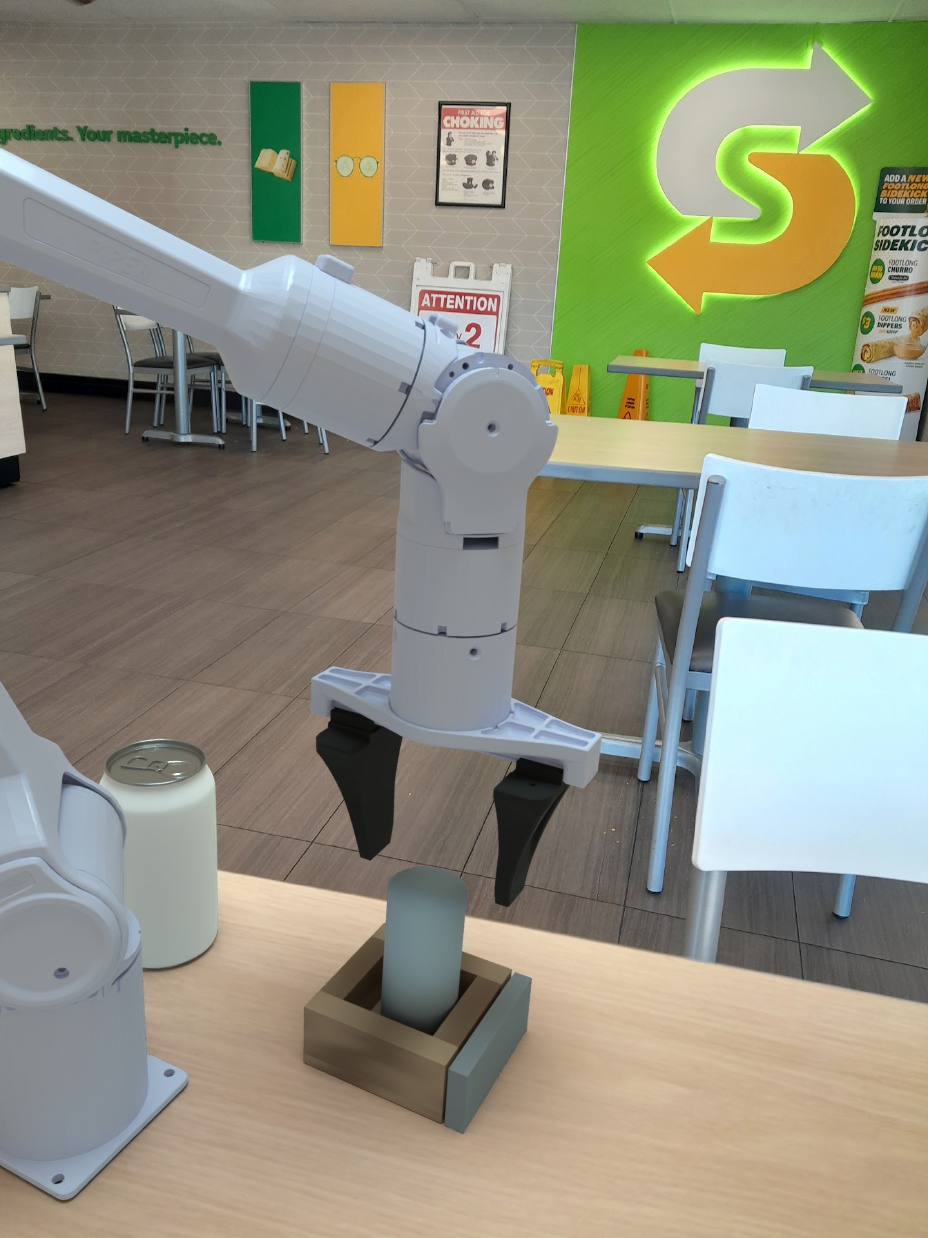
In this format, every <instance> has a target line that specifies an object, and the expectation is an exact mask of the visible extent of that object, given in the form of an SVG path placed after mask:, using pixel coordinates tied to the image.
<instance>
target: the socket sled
mask: <svg viewBox="0 0 928 1238" xmlns="http://www.w3.org/2000/svg"><path fill="white" fill-rule="evenodd" d="M385 925H386V922H383V923H382V924H381V925H380V926H379V928H377V929H376V930H375V931H374V933H373V934H371V936H370V937H369V938H368V939H367V940H366V941H365V942H364V943H363V944H362V945H361V946H360V947H359V948H358V949H357V950H356V951H355V953H354V954H352V956H351V957H349V959H348V960H347V961H346V962H345V963H344V964H343V965H342V966H341V967H340V968H339V969H338V970H337V971H336V972H335V973H334V975H333V976H331V978H330V979H329V980H328V981H327V982H326V983H325V984H324V985H323V986H322V987H321V988H320V989H319V990H318V991H317V992H316V993H315V994H314V995H313V997H312V998H311V999H310V1000H309V1001H308V1002H307V1003H306V1004H305V1005H304V1006H303V1056H302V1057H303V1058H302V1061H303V1063H304V1064H306V1065H309V1066H311V1067H313V1068H315V1069H318V1070H319V1071H323V1072H325V1073H326V1074H328V1075H331V1076H334V1077H336V1078H337V1079H340V1080H342V1081H345V1082H347V1083H348V1084H351V1085H353V1086H355V1087H358V1088H360V1089H363V1090H364V1091H366V1092H370V1093H372V1094H374V1095H375V1096H378V1097H380V1098H382V1099H385V1100H387V1101H390V1102H392V1103H395V1104H396V1105H398V1106H401V1107H403V1108H405V1109H408V1110H410V1111H412V1112H414V1113H417V1114H418V1115H421V1116H423V1117H425V1118H428V1119H430V1120H432V1121H434V1122H437V1123H439V1124H442V1123H443V1122H444V1121H445V1111H446V1097H447V1083H448V1069H449V1068H450V1066H451V1065H452V1063H453V1062H454V1060H455V1059H456V1057H457V1056H458V1054H459V1053H460V1052H461V1050H462V1049H463V1047H464V1046H465V1044H466V1043H467V1041H468V1040H469V1038H470V1037H471V1035H472V1034H473V1033H474V1031H475V1030H476V1028H477V1027H478V1025H479V1024H480V1022H481V1021H482V1019H483V1018H484V1016H485V1015H486V1014H487V1012H488V1011H489V1009H490V1008H491V1006H492V1005H493V1003H494V1002H495V1000H496V999H497V997H498V996H499V995H500V993H501V992H502V990H503V989H504V987H505V986H506V984H507V983H508V981H509V980H510V978H511V977H512V976H513V969H512V968H509V967H507V966H504V965H501V964H499V963H495V962H493V961H490V960H488V959H486V958H485V959H484V958H482V957H480V956H477V955H474V954H471V953H468V952H466V951H463V950H462V957H461V969H460V980H459V991H458V1002H457V1004H456V1006H455V1007H454V1008H453V1010H452V1011H451V1012H450V1014H449V1015H448V1017H447V1018H446V1019H445V1021H444V1022H443V1023H442V1025H441V1026H440V1027H439V1029H438V1030H437V1031H436V1033H435V1034H434V1036H430V1035H428V1034H425V1033H423V1032H420V1031H418V1030H415V1029H413V1028H411V1027H408V1026H406V1025H403V1024H401V1023H398V1022H396V1021H393V1020H391V1019H389V1018H386V1017H384V1016H381V1015H380V1011H381V994H382V977H383V960H384V943H385Z"/></svg>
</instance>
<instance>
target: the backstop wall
mask: <svg viewBox="0 0 928 1238" xmlns="http://www.w3.org/2000/svg"><path fill="white" fill-rule="evenodd" d="M532 982H533V978H532V977H530V976H527V975H524V974H522V973H519V972H515V971H514V973H512V975H511V978H510V980H509V981H508V983H507V984H506V986H505V987H504V989H503V990H502V992H501V993H500V995H499V996H498V997H497V999H496V1000H495V1002H494V1003H493V1005H492V1006H491V1008H490V1009H489V1011H488V1012H487V1014H486V1015H485V1016H484V1018H483V1019H482V1021H481V1022H480V1024H479V1025H478V1027H477V1028H476V1030H475V1031H474V1033H473V1034H472V1035H471V1037H470V1038H469V1040H468V1041H467V1043H466V1044H465V1046H464V1047H463V1049H462V1050H461V1052H460V1053H459V1054H458V1056H457V1057H456V1059H455V1060H454V1062H453V1063H452V1065H451V1066H450V1068H449V1069H448V1083H447V1097H446V1111H445V1119H444V1124H443V1125H444V1127H446V1128H449V1129H451V1130H453V1131H455V1132H457V1133H459V1134H462V1135H464V1133H465V1132H466V1130H467V1128H468V1127H469V1126H470V1123H471V1122H472V1120H473V1118H474V1117H475V1116H476V1114H477V1112H479V1109H480V1107H481V1106H482V1104H483V1102H484V1101H485V1099H486V1097H487V1096H488V1094H489V1093H490V1091H491V1089H492V1088H493V1087H494V1084H495V1082H496V1081H497V1080H498V1078H499V1077H500V1074H501V1073H502V1071H503V1070H504V1068H505V1066H506V1065H507V1064H508V1061H509V1060H510V1059H511V1057H512V1055H513V1054H514V1052H515V1051H516V1048H517V1047H518V1045H519V1044H520V1042H521V1040H522V1038H523V1037H524V1035H526V1034H525V1033H526V1032H527V1030H528V1023H529V1022H528V1021H529V1012H530V1002H531V991H532V984H533V983H532Z"/></svg>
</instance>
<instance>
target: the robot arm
mask: <svg viewBox="0 0 928 1238" xmlns="http://www.w3.org/2000/svg"><path fill="white" fill-rule="evenodd" d="M0 262H5V263H7V264H10V265H13V266H16V267H17V268H20V269H23V270H24V271H26V272H27V271H28V272H31V273H33V274H36V275H38V276H40V277H42V278H44V279H45V278H46V279H48V280H50V281H52V282H56V283H58V284H60V285H62V286H65V287H68V288H70V289H72V290H75V291H77V292H80V293H83V294H85V295H87V296H89V297H92V298H95V299H97V300H100V301H102V302H105V303H107V304H109V305H112V306H114V307H117V308H120V309H121V310H122V309H123V310H125V311H127V312H130V313H132V314H134V315H137V316H139V317H142V318H144V319H147V320H149V321H151V322H155V323H158V324H159V325H162V326H165V327H167V328H170V329H173V330H174V331H176V332H180V333H182V334H185V335H187V336H189V337H192V338H195V339H197V340H200V341H202V342H204V343H207V344H209V345H211V346H214V347H215V349H216V351H217V352H218V353H219V357H220V358H221V360H222V363H223V365H224V368H225V371H226V372H227V375H228V378H229V380H230V382H231V385H232V387H233V388H234V390H235V391H236V392H237V393H238V394H239V395H241V396H244V397H245V398H248V399H251V400H252V401H255V402H259V403H261V404H264V405H265V406H268V407H271V408H273V409H275V410H278V411H280V412H283V413H285V414H287V415H289V416H292V417H294V418H295V419H296V418H297V419H299V420H301V421H304V422H306V423H309V424H311V425H313V426H315V427H318V428H321V429H323V430H326V431H328V432H330V433H332V434H335V435H338V436H340V437H343V438H345V439H347V440H349V441H351V442H353V443H357V444H359V445H360V446H364V447H366V448H369V449H370V450H373V451H375V452H380V453H381V452H390V451H396V453H398V455H400V457H401V458H403V459H401V461H400V484H399V485H400V490H399V510H398V515H397V518H396V537H395V539H396V541H395V542H396V543H395V560H394V561H395V563H394V564H395V565H394V567H395V568H394V589H393V616H392V640H391V641H392V642H391V643H392V645H391V646H392V647H391V668H390V673H389V674H388V673H380V672H379V673H378V672H370V671H369V672H367V671H359V670H353V669H348V668H343V667H338V666H335V665H334V666H331V667H329V668H327V669H325V670H324V671H322V672H320V673H318V674H317V675H315V676H313V677H311V679H310V683H311V684H310V689H311V690H310V713H311V714H313V715H317V716H320V717H325V718H329V719H330V720H329V721H328V722H327V727H326V728H325V729H323V730H322V731H319V733H318V734H317V735H316V736H315V751H316V753H317V754H318V756H319V757H320V758H321V761H323V763H324V764H325V766H326V767H327V768H328V771H329V772H330V774H331V775H332V778H333V780H334V781H335V783H336V785H337V787H338V789H339V791H340V793H341V797H342V798H343V801H344V804H345V806H346V809H347V813H348V815H349V818H350V822H351V827H352V830H353V833H354V837H355V838H354V839H355V841H356V846H357V850H358V853H359V854H358V855H359V858H361V859H365V860H367V861H372V860H373V859H374V858H375V857H377V855H378V854H380V852H382V851H383V850H384V849H385V848H386V847H387V846H388V845H389V844H391V840H392V837H393V836H392V835H393V828H394V821H395V819H394V818H395V797H396V796H395V794H396V791H395V790H396V786H395V785H396V778H397V777H396V776H397V771H398V763H399V758H400V753H401V746H402V743H403V738H405V739H407V740H409V741H412V742H415V743H417V744H418V743H419V744H422V745H425V746H429V747H436V748H437V747H438V748H447V749H455V750H456V749H457V750H465V751H473V752H476V753H478V754H483V755H486V756H491V757H494V758H497V759H501V760H505V761H509V762H513V763H515V769H513V770H512V771H510V772H508V773H507V775H506V776H505V777H504V778H502V780H501V781H500V782H499V783H498V784H497V785H495V787H494V788H493V792H492V798H493V803H494V808H495V813H496V823H497V836H498V837H497V842H498V845H497V847H498V851H497V861H496V870H495V878H494V879H495V880H494V892H493V893H494V903H495V904H497V905H500V906H502V907H505V908H509V907H510V906H511V905H512V904H513V903H514V901H515V900H516V899H517V897H519V895H520V894H521V892H522V891H523V890H524V888H525V885H526V881H527V876H528V873H529V870H530V867H531V863H532V860H533V858H534V854H535V853H536V850H537V847H538V846H539V842H540V841H541V838H542V835H544V831H545V830H546V828H547V826H548V825H549V822H550V820H551V818H552V817H553V815H554V813H555V811H556V809H557V808H558V806H559V804H560V803H561V801H562V799H563V798H564V796H565V795H566V793H567V791H568V789H569V788H570V787H571V786H573V787H576V788H580V789H584V788H586V786H587V785H588V784H589V783H590V782H591V781H592V780H593V778H594V776H596V775H597V773H598V772H599V763H600V756H601V747H602V746H601V745H602V739H603V738H602V737H603V735H602V733H600V732H596V731H593V730H588V729H585V728H582V727H580V726H577V725H574V724H571V723H570V722H567V721H564V720H562V719H559V718H557V717H556V716H555V717H554V716H553V715H551V714H548V713H547V712H545V711H542V710H540V709H538V708H535V707H533V706H531V705H528V704H527V703H524V702H522V701H520V700H518V699H516V698H513V697H512V691H513V679H514V667H515V658H516V657H515V656H516V655H515V654H516V653H515V652H516V644H517V630H518V619H519V609H520V599H521V598H520V596H521V595H520V594H521V585H522V584H521V582H522V571H523V570H522V569H523V561H524V560H523V559H524V545H525V537H526V536H525V533H526V512H527V501H528V491H529V488H530V487H531V484H532V483H533V481H534V480H535V479H536V478H537V477H538V476H539V475H540V474H541V472H542V471H543V469H545V467H546V465H547V464H548V462H549V460H550V458H551V456H552V453H553V451H554V449H555V446H556V443H557V439H558V433H559V426H558V425H557V424H554V423H553V422H552V421H551V420H550V407H549V401H548V398H547V396H546V393H545V391H544V387H543V386H542V385H539V384H538V382H537V381H536V380H537V376H535V374H534V373H533V372H532V370H531V369H529V368H528V367H527V366H526V365H524V363H522V362H520V361H518V360H516V359H515V358H513V357H510V356H508V355H505V354H503V353H497V352H493V351H490V350H486V349H482V348H478V347H476V346H475V347H474V346H470V345H469V343H467V342H466V340H464V339H461V338H456V335H457V332H458V330H459V325H458V322H457V321H455V320H453V319H451V318H449V317H447V316H445V315H443V314H441V313H437V312H431V314H429V316H428V318H427V319H425V318H423V317H420V316H419V315H417V314H414V313H413V312H410V311H408V310H406V309H404V308H403V307H401V306H398V305H396V304H394V303H393V302H390V301H388V300H386V299H384V298H382V297H380V296H378V295H376V294H374V293H372V292H370V291H367V290H366V289H364V288H361V287H359V286H357V285H355V284H353V283H351V281H352V279H353V277H354V274H355V268H354V267H353V265H351V264H349V263H347V262H345V261H343V260H341V259H338V258H336V257H335V256H334V255H333V256H332V255H331V254H319V255H318V256H317V258H316V260H315V263H314V264H312V263H310V262H309V261H307V260H305V259H303V258H300V257H299V256H296V255H295V254H286V255H283V256H279V257H277V258H274V259H271V260H269V261H267V262H265V263H263V264H260V265H257V266H255V267H253V268H250V269H249V268H248V269H244V270H243V269H240V268H239V267H237V266H235V265H232V264H230V263H229V262H227V261H225V260H223V259H221V258H219V257H217V256H215V255H213V254H212V253H209V252H207V251H205V250H203V249H201V248H199V247H197V246H195V245H194V244H191V243H189V242H188V241H186V240H184V239H182V238H179V237H177V236H175V235H174V234H171V233H170V232H167V231H165V230H164V229H163V228H162V229H161V228H160V227H158V226H156V225H154V224H152V223H150V222H148V221H146V220H144V219H141V218H140V217H137V216H136V215H134V214H132V213H130V212H128V211H126V210H124V209H122V208H121V207H118V206H117V205H114V204H113V203H110V202H108V201H106V200H105V199H102V198H100V197H98V196H97V195H95V194H92V193H91V192H89V191H87V190H84V189H82V188H81V187H79V186H77V185H74V184H73V183H71V182H70V181H69V182H68V181H67V180H65V179H62V178H61V177H58V175H55V174H53V173H51V172H49V171H47V170H45V169H44V168H41V167H39V166H38V165H35V164H33V163H31V162H29V161H27V160H26V159H23V158H22V157H20V156H18V155H15V154H14V153H12V152H10V151H7V150H6V149H4V148H2V147H0ZM417 465H419V466H421V467H422V468H421V467H419V466H417ZM423 468H424V469H423ZM426 470H427V471H426ZM126 833H127V826H126V819H125V816H124V813H123V810H122V808H121V806H120V804H119V803H118V801H117V800H116V799H115V797H114V796H113V795H112V794H111V793H110V792H109V791H108V790H106V789H105V788H104V787H103V786H101V785H99V783H97V782H95V781H94V780H92V779H90V778H88V777H87V776H85V775H84V774H82V773H81V772H79V771H78V770H77V769H76V768H75V767H74V766H73V765H72V764H71V762H69V760H68V758H67V757H66V755H65V754H64V752H63V750H62V749H61V747H60V746H59V744H58V743H56V742H54V741H52V740H49V739H48V738H45V737H43V736H41V735H38V734H36V733H35V732H33V731H32V729H31V727H30V726H29V725H28V722H27V721H26V720H25V718H24V716H23V714H22V713H21V712H20V710H19V708H18V707H17V705H16V704H15V702H14V700H13V699H12V697H11V696H10V694H9V692H8V691H7V689H6V688H5V686H4V685H3V683H2V682H1V680H0V1166H1V1167H2V1168H5V1170H7V1171H10V1172H11V1173H13V1174H15V1175H17V1176H18V1177H20V1178H21V1179H23V1180H25V1181H26V1182H29V1183H30V1184H31V1185H33V1186H35V1187H37V1188H38V1189H40V1190H42V1191H44V1192H46V1193H48V1194H49V1195H51V1196H53V1197H54V1198H56V1199H58V1200H60V1201H66V1200H70V1199H72V1198H73V1197H75V1196H76V1195H77V1194H78V1193H79V1192H81V1190H82V1189H83V1188H85V1186H86V1185H87V1184H88V1183H89V1182H90V1181H91V1180H92V1179H93V1178H94V1177H95V1176H96V1175H98V1173H100V1171H101V1170H102V1169H104V1168H105V1166H106V1165H107V1164H109V1163H110V1161H112V1160H113V1158H114V1157H116V1155H118V1154H119V1152H120V1151H121V1150H123V1148H125V1146H127V1144H128V1143H130V1142H131V1140H133V1139H134V1137H136V1136H137V1135H138V1134H139V1133H140V1132H141V1131H142V1130H143V1128H144V1127H146V1126H147V1124H149V1123H150V1122H151V1121H152V1120H153V1119H154V1118H155V1117H156V1116H157V1115H158V1114H159V1113H160V1112H161V1111H162V1110H163V1109H164V1108H165V1107H166V1106H167V1105H168V1104H169V1103H170V1102H171V1101H172V1100H173V1099H174V1098H175V1097H176V1096H177V1095H178V1094H179V1093H180V1092H181V1091H182V1090H183V1089H184V1088H185V1087H186V1086H187V1084H188V1081H189V1078H188V1073H187V1072H186V1071H185V1070H183V1069H181V1068H179V1067H177V1066H175V1065H173V1064H171V1063H169V1062H167V1061H164V1060H162V1059H160V1058H158V1057H156V1056H154V1055H151V1054H149V1053H148V1050H147V1049H148V1046H147V1027H146V1009H145V1006H146V1005H145V1004H146V1003H145V989H144V987H145V986H144V974H143V973H144V971H143V970H144V969H143V965H142V945H141V929H140V925H139V922H138V920H137V918H136V917H135V915H134V914H133V913H132V911H131V910H130V909H129V908H128V907H127V906H126V905H125V903H124V856H123V850H124V845H125V839H126ZM60 1181H61V1182H60ZM57 1182H60V1183H57Z"/></svg>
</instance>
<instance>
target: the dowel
mask: <svg viewBox="0 0 928 1238" xmlns="http://www.w3.org/2000/svg"><path fill="white" fill-rule="evenodd" d="M467 899H468V887H467V884H466V883H465V881H464V880H463V878H461V877H460V876H459V875H457V874H456V873H454V872H453V871H451V870H447V869H444V868H441V867H437V866H430V865H429V866H427V865H423V866H412V867H409V868H405V869H402V870H400V871H399V872H397V873H396V874H394V875H393V876H392V877H391V878H390V879H389V881H388V884H387V894H386V909H385V910H386V913H385V923H386V925H385V943H384V960H383V977H382V994H381V1011H380V1015H381V1016H384V1017H386V1018H389V1019H391V1020H393V1021H396V1022H398V1023H401V1024H403V1025H406V1026H408V1027H411V1028H413V1029H415V1030H418V1031H420V1032H423V1033H425V1034H428V1035H430V1036H434V1034H435V1033H436V1031H437V1030H438V1029H439V1027H440V1026H441V1025H442V1023H443V1022H444V1021H445V1019H446V1018H447V1017H448V1015H449V1014H450V1012H451V1011H452V1010H453V1008H454V1007H455V1006H456V1004H457V1002H458V991H459V980H460V969H461V957H462V951H463V944H464V931H465V922H466V911H467Z"/></svg>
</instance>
